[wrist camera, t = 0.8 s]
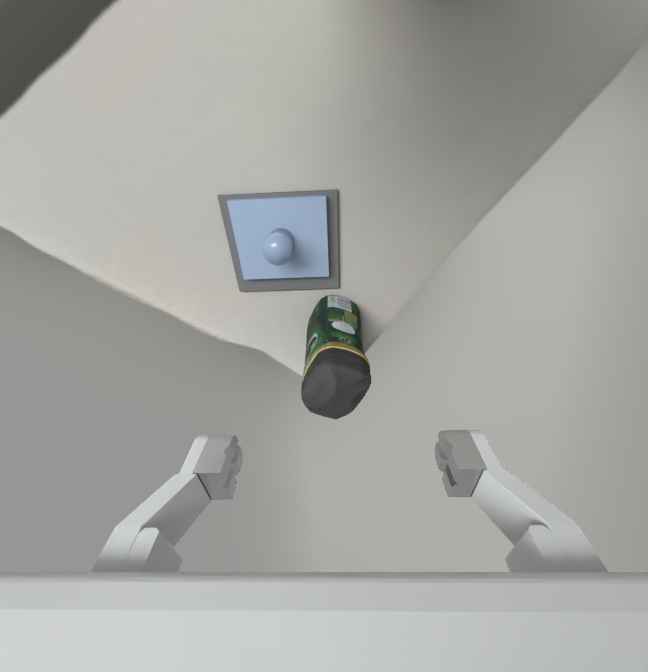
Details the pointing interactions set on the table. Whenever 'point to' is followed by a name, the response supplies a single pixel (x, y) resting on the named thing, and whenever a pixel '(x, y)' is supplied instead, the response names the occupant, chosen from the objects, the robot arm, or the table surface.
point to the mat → (287, 282)
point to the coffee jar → (334, 359)
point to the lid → (281, 236)
